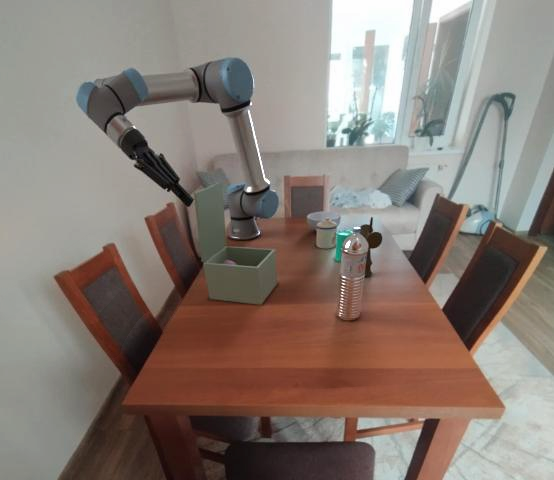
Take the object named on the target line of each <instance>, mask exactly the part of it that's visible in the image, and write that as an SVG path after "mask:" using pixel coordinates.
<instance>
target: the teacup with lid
mask: <svg viewBox="0 0 554 480" xmlns="http://www.w3.org/2000/svg"><path fill="white" fill-rule="evenodd" d="M316 227H317V231H316V239H315V241H316V242H315V243H316V244H315V245H316V247H317V248H319V249H325V250H327V249H333V248H336V241H337V232H338V226H337V223H335V222H332V221H331V220H329V218H325V220H323V221H322V222H319V223H318V224H317V225H316Z"/></svg>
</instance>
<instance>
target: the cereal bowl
mask: <svg viewBox="0 0 554 480" xmlns="http://www.w3.org/2000/svg"><path fill="white" fill-rule="evenodd" d="M325 218H329V220H331V221H332V222H335V223H337V227H339V225H340V224H341V220H342V215H341V213H340V212H337V211H329V210H328V211H327V210H325V211H324V210H323V211H315V212H311V213H309V214H307V216H306V223H307V225H308V227H309V228H310V229H311V230H314V231H315V232H317V227H316V225H317V224H318V223H319V222H322V221H323V220H325Z"/></svg>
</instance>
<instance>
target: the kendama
mask: <svg viewBox="0 0 554 480" xmlns="http://www.w3.org/2000/svg"><path fill="white" fill-rule="evenodd" d="M373 222H374V217H373V216H371V217H370V220H369V223H364V224H362V225H360V226H359V227H360V228H361V230H360V234H361V235H362V236H363V237H364V238H365V239H366V241H367V243H368V245H369V247H368V252H367V259H366V267H365V277H366V278H367V277H370V276H372V275H373V271H372V269H371V267H372V266H373V261H372V257H371V256H372V255H371V249H373V250H374V249H377V248H379V247H380V246H381V244H382V243H383V234H382V233H381V232H379V231H374V227H373V224H374V223H373ZM365 277H364V278H365Z"/></svg>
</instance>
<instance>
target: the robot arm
mask: <svg viewBox="0 0 554 480" xmlns="http://www.w3.org/2000/svg"><path fill="white" fill-rule="evenodd" d="M254 89H255V81H254V76H253V73H252V71H251V68H250V66H249V65H248V64H247V62H245V61H244V60H243V59H242V58H240V57H229V56H228V57H225V58H221V59H217V60H212V61H208V62H205V63H203V64H199V65H197V66H193V67H186V68H184V69H183V70H182V72H169V73H157V74H143V75H141V73H140V72H139V71H138V70H137V69H135V68H134V67H128V68H127V69H124V70H122V72H121V73H118V74H117V75H113V76H108V77H104V78H96V79H95V80H93V81H84V82H83V83H81V84H80V85H79V86H78V88H77V89H76V93H75V101H76V104H77V106H78V108H80V109H81V111H82V112H83V113H84V114H85V115H86V116H87V118H88V119H89V120H91V121H92V122H93V123H94V124H95V125H96V126H97V127H98V128H99V129H100V130H101V131H102V132H103V133H104V134H105V135H106V136H107V137H108V138H109V140H110V141H111V142H112V143H113V144H114V145H115V146H116V147H117V148H118V149H120V150H121V152H122V153H123V154H124V155H125V156H126V157H127V158H128V159H129V160H131V161H134V164H133V167H134V168H135V169H137V170H138V171H140V172H141V173H143V174H144V175H145V176H146V177H148V178H149V179H150V180H151V181H152V182H154V183H155V184H156V185H157V186H159V187H160V188H161V189H162V190H166V192H167V193H170V192H172V193H173V194H174V196H176V197H177V198H178V199H179V200H180V201H181V203H183V204H184V205H185V207H187V208H189V207H191V205H192V204H193V203H194V202H195V200H194V197H192V196H191V195H190V193H189V192H188V191H187V190H186V189H185V188H184V187H183V186H182V185H181V184H180V180H181V178H180V177H179V175H178V174H177V172H176V171H175V170H174V168H173V167H172V166H171V164H170V163H169V162H168V161H167V159H166V157H165V155H164V154H163V153H162V152H160V153H159V154H157V153H156V152H155V150H153V149H152V148H151V147H149V143H148V142H149V141H148V139H147V138H146V137H145V135H143V133H142V131H140V130H139V129H137V128H136V126H135V125H134V124H133V123H132V122H131V121H130V120H129V119H128V117H127V116H126V114H128V113H129V112H130V111H132V110H133V109H135V108H136V107H144V106H152V105H159V104H169V103H176V102H183V101H189V103H191V104H197V103H205V104H216V105H219V108H220V113H221V114H222V115H223V116H225V117H226V119H227V122H228V125H229V129H230V132H231V136H232V141H233V143H234V147H235V151H236V154H237V158H238V161H239V165H240V169H241V172H242V175H243V178H244V182H242V183H241V182H240V183H236V184H235V183H234V184H231V185H229V186H227V189H226V192H227V194H226V196H227V202H228V203H227V204H228V210H229V216H230V223H229V229H228V238H229V239H231V240H233V241H249V240H250V241H251V240H253V239H257V238H259V237H260V234H261V233H260V229H259V226H258V222H257V221H256V220H257V219H266V220H269V219H271V218H273V216H275V214H276V213H277V210H278V208H279V204H280V199H279V194H278V192H276V191H275V190H274V189H272V187H271V182H270V180H268V179H267V178H266V177H265V172H264V169H263V164H262V160H261V156H260V155H261V154H260V150H259V147H258V142H257V138H256V134H255V130H254V126H253V125H254V124H253V121H252V116H251V113H250V109H251V107H252V104H253V103H252V99H251V98H252V97H253V94H254V91H253V90H254Z"/></svg>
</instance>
